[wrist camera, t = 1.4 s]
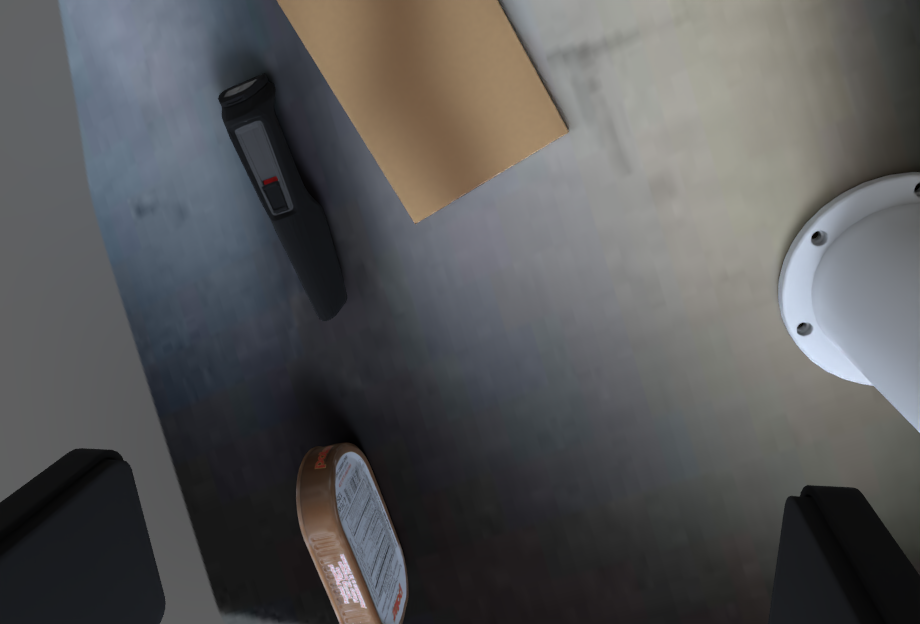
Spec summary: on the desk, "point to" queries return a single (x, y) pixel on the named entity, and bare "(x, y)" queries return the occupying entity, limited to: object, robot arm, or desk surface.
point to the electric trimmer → (284, 192)
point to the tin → (351, 536)
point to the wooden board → (430, 90)
